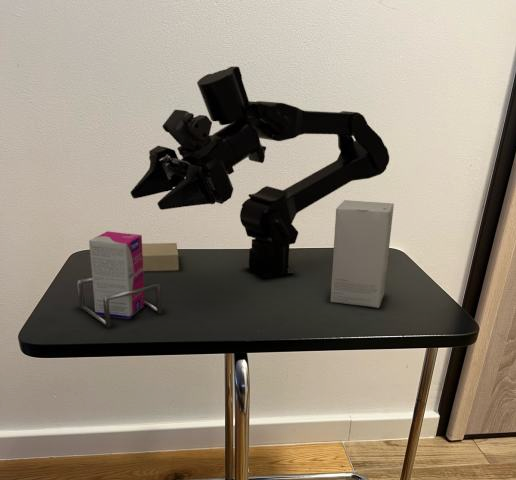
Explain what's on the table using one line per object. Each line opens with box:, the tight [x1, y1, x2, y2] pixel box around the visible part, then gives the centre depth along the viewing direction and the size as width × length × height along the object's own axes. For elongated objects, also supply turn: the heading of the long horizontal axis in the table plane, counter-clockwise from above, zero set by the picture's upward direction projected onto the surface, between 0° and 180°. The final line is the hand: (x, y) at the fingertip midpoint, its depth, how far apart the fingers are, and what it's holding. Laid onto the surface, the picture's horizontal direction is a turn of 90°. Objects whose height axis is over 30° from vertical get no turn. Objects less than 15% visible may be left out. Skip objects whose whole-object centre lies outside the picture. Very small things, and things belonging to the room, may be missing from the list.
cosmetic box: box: [330, 199, 395, 309], centre depth 86 cm, size 8×7×16 cm
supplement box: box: [88, 230, 146, 320], centre depth 80 cm, size 6×6×12 cm
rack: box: [76, 277, 163, 329], centre depth 82 cm, size 9×9×5 cm
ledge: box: [142, 242, 180, 272], centre depth 102 cm, size 12×8×3 cm, turn 100°
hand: (144, 200), depth 81 cm, fingers open, 9 cm apart
